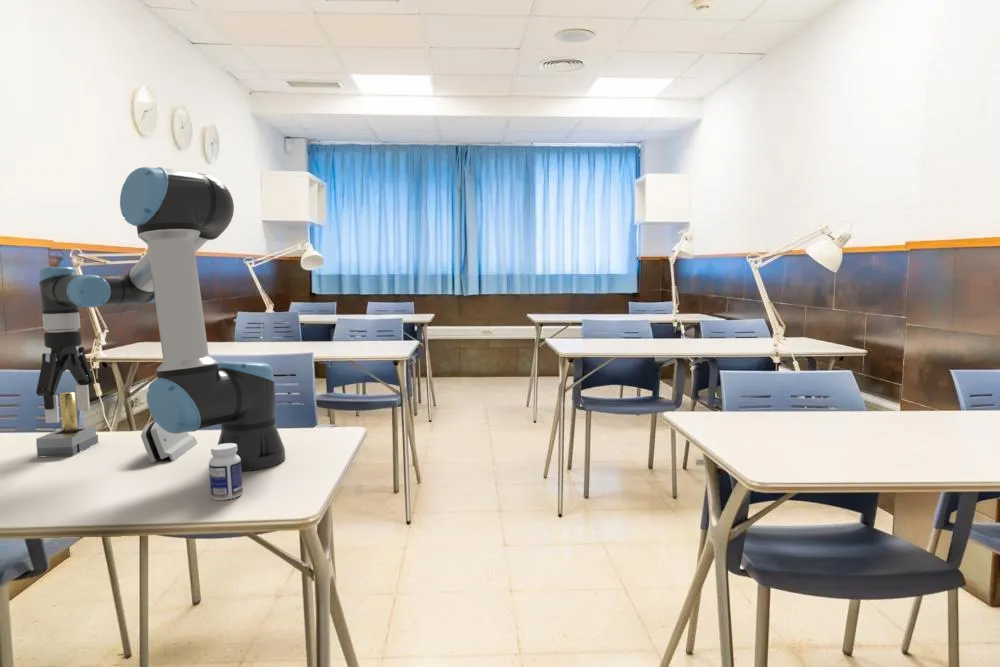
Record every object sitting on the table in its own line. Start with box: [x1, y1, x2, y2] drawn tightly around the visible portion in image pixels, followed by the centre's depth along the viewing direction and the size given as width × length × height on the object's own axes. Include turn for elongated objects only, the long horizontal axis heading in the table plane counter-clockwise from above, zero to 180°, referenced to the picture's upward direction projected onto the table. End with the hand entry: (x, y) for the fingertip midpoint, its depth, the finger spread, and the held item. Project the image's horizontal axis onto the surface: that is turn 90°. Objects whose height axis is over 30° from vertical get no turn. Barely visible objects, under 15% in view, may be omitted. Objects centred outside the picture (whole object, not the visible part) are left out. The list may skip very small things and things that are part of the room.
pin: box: [59, 391, 79, 434], centre depth 162 cm, size 3×3×14 cm
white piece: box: [140, 419, 198, 463], centre depth 158 cm, size 17×5×10 cm, turn 7°
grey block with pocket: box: [35, 426, 99, 457], centre depth 162 cm, size 12×8×4 cm
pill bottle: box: [208, 443, 244, 501], centre depth 127 cm, size 6×6×10 cm
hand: (68, 416), depth 162 cm, fingers open, 13 cm apart
